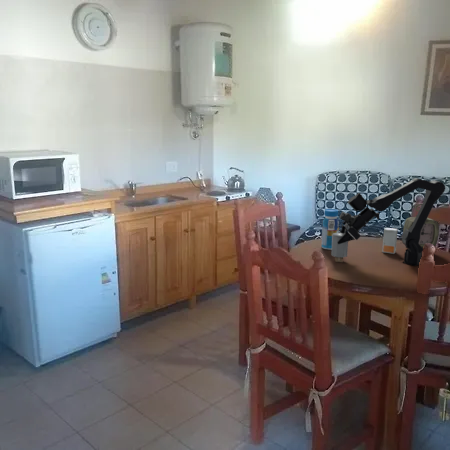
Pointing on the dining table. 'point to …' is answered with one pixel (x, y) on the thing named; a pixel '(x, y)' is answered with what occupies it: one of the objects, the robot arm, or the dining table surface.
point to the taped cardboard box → (338, 259)
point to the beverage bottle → (329, 227)
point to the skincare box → (389, 240)
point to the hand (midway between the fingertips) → (336, 241)
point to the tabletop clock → (425, 230)
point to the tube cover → (339, 246)
